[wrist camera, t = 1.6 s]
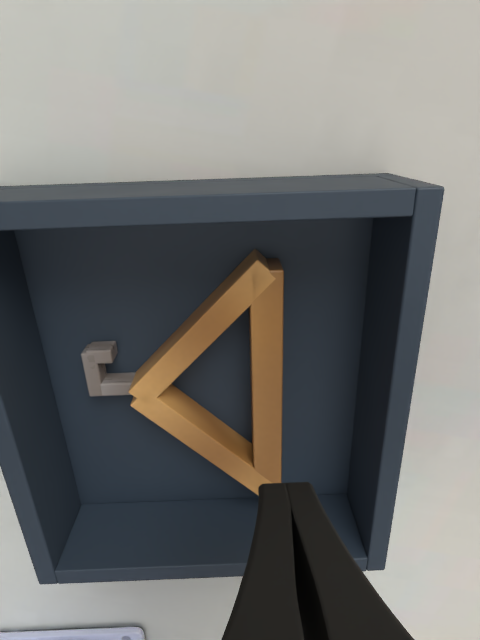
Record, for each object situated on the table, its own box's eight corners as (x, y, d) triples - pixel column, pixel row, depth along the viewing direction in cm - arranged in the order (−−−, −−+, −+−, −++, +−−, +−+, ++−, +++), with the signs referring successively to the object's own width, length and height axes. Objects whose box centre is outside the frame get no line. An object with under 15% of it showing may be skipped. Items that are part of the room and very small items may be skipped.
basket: (75, 500, 22) (38, 585, 18) (-4, 186, 16) (-88, 204, 12) (356, 489, 22) (385, 570, 18) (389, 172, 16) (446, 186, 12)
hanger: (113, 476, 20) (103, 503, 19) (69, 254, 16) (53, 267, 14) (277, 470, 20) (281, 496, 19) (279, 247, 16) (284, 259, 14)
